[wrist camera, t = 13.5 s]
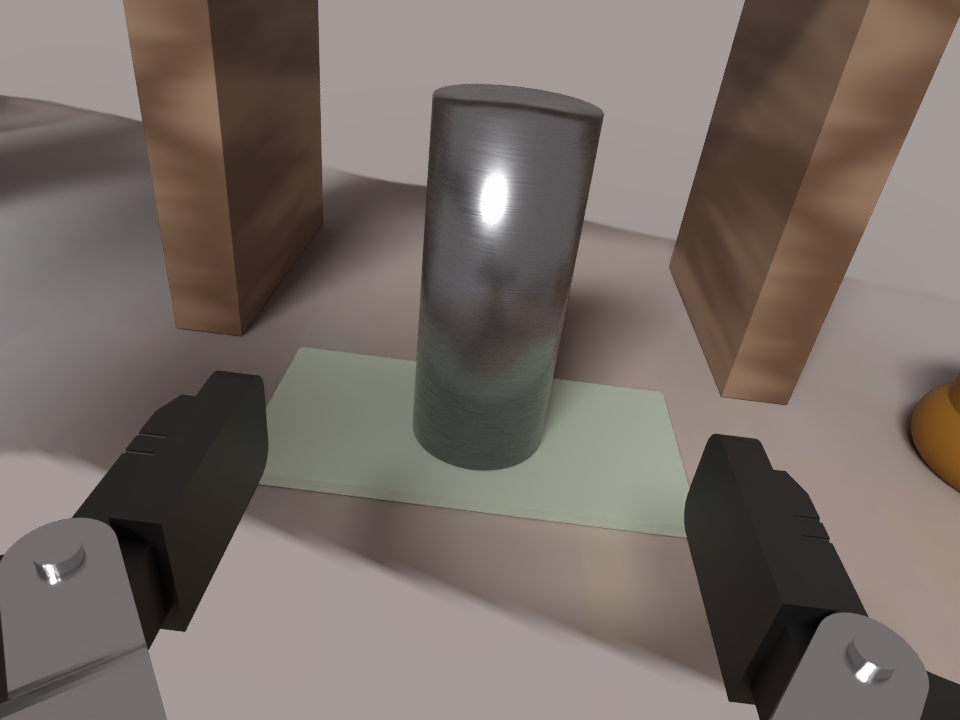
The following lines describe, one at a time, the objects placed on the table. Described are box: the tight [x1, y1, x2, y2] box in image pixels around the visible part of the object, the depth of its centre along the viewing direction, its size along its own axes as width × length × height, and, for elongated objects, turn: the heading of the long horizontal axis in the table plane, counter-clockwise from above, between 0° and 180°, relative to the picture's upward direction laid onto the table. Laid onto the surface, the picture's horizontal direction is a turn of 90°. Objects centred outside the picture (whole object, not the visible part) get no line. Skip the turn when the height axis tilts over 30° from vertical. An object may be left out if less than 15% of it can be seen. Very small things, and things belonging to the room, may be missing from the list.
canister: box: [412, 84, 604, 470], centre depth 23 cm, size 5×5×12 cm
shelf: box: [123, 0, 960, 405], centre depth 30 cm, size 28×16×22 cm, turn 86°
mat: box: [259, 347, 690, 538], centre depth 26 cm, size 16×8×1 cm, turn 86°
